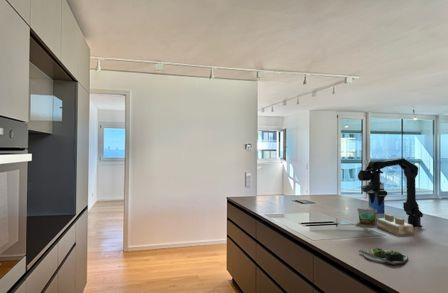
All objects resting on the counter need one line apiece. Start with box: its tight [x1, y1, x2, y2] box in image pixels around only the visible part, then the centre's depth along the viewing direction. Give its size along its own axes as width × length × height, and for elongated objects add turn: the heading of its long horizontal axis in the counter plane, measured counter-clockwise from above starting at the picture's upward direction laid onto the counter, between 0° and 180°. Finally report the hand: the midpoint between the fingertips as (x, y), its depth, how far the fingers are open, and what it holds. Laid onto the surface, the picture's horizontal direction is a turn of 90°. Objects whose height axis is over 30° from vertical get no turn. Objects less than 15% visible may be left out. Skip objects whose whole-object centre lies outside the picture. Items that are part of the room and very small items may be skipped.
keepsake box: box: [376, 220, 415, 236], centre depth 187 cm, size 10×20×4 cm, turn 6°
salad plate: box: [358, 247, 409, 266], centre depth 139 cm, size 19×18×5 cm
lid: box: [387, 217, 413, 227], centre depth 182 cm, size 10×9×4 cm
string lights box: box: [367, 180, 386, 219], centre depth 227 cm, size 13×8×26 cm, turn 171°
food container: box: [356, 207, 377, 226], centre depth 204 cm, size 12×6×10 cm, turn 62°
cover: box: [376, 213, 395, 223], centre depth 191 cm, size 10×9×4 cm
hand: (375, 204), depth 196 cm, fingers open, 9 cm apart
